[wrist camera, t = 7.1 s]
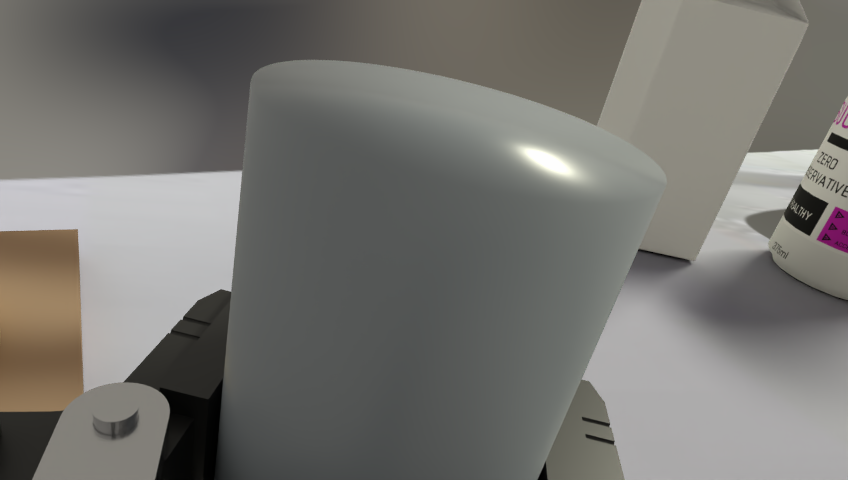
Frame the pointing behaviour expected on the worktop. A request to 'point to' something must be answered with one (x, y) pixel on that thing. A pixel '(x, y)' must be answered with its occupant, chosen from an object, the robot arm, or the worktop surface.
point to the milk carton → (699, 101)
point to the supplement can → (819, 218)
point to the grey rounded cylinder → (417, 275)
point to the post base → (40, 320)
